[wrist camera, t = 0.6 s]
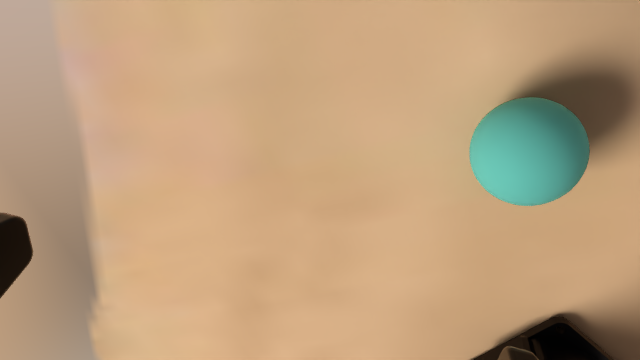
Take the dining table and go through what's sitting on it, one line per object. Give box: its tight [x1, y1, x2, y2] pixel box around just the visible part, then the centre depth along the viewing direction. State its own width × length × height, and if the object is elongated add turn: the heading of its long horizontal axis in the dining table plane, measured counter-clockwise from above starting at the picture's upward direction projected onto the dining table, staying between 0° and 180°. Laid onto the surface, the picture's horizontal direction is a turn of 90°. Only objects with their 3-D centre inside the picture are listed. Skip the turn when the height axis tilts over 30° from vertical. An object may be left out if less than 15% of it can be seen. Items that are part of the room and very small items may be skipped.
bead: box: [470, 97, 590, 206], centre depth 16 cm, size 4×4×4 cm
